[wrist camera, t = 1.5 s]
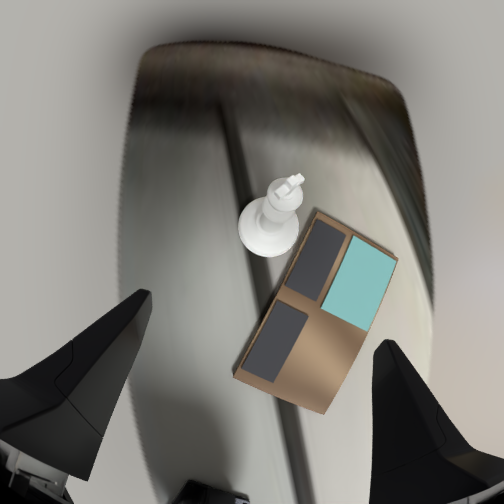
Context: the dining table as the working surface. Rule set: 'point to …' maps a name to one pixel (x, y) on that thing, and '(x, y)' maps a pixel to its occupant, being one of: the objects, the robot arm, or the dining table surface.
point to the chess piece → (272, 218)
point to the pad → (359, 284)
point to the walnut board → (314, 340)
